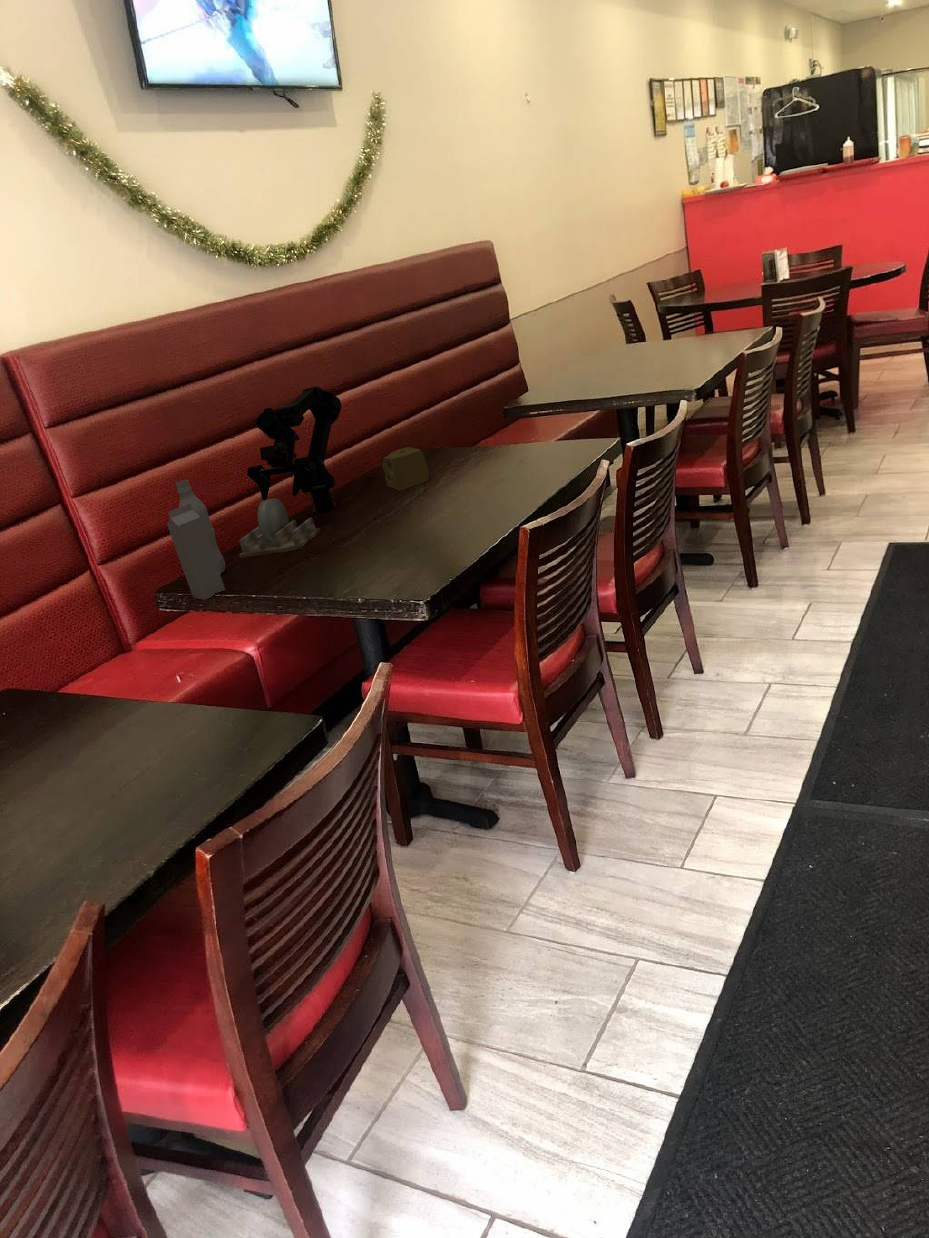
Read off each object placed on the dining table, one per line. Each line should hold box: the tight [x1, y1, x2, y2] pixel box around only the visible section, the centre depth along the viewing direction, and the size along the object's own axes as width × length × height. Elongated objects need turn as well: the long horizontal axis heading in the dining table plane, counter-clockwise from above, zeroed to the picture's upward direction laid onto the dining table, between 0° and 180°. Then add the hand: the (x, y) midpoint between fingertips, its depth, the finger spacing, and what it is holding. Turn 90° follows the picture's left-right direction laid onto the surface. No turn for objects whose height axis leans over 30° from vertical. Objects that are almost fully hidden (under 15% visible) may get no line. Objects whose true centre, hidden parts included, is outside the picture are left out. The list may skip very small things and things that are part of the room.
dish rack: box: [238, 517, 322, 559], centre depth 265 cm, size 14×18×4 cm
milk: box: [166, 504, 226, 601], centre depth 235 cm, size 6×6×22 cm
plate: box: [257, 498, 290, 546], centre depth 264 cm, size 12×3×12 cm, turn 165°
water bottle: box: [175, 479, 226, 576], centre depth 249 cm, size 7×7×25 cm
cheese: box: [382, 446, 430, 492], centre depth 296 cm, size 10×11×10 cm
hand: (278, 498), depth 268 cm, fingers open, 9 cm apart
